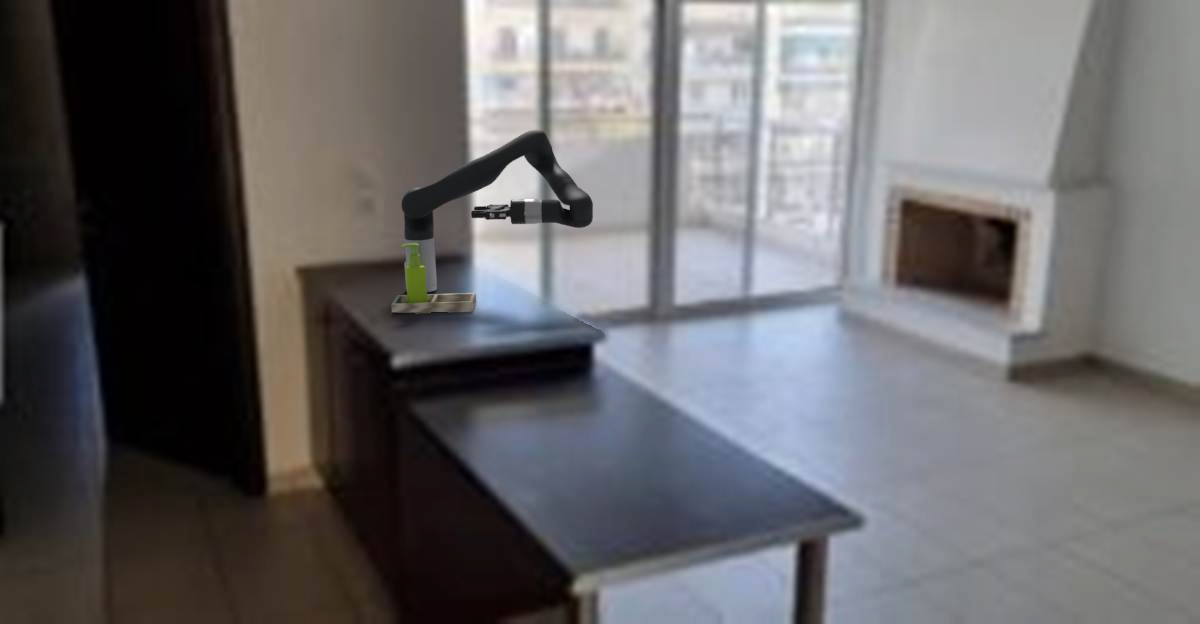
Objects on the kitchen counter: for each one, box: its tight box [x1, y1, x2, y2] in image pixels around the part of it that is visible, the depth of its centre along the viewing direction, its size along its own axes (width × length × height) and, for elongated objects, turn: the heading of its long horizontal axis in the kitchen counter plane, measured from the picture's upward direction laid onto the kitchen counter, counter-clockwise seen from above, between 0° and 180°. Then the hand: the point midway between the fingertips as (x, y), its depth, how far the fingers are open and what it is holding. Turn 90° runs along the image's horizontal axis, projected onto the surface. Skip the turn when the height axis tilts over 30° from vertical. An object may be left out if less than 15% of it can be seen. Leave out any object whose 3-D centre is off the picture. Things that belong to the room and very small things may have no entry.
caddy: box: [390, 292, 477, 314], centre depth 315 cm, size 24×12×3 cm, turn 92°
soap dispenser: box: [399, 243, 428, 303], centre depth 313 cm, size 6×7×20 cm
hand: (472, 212), depth 313 cm, fingers open, 8 cm apart
